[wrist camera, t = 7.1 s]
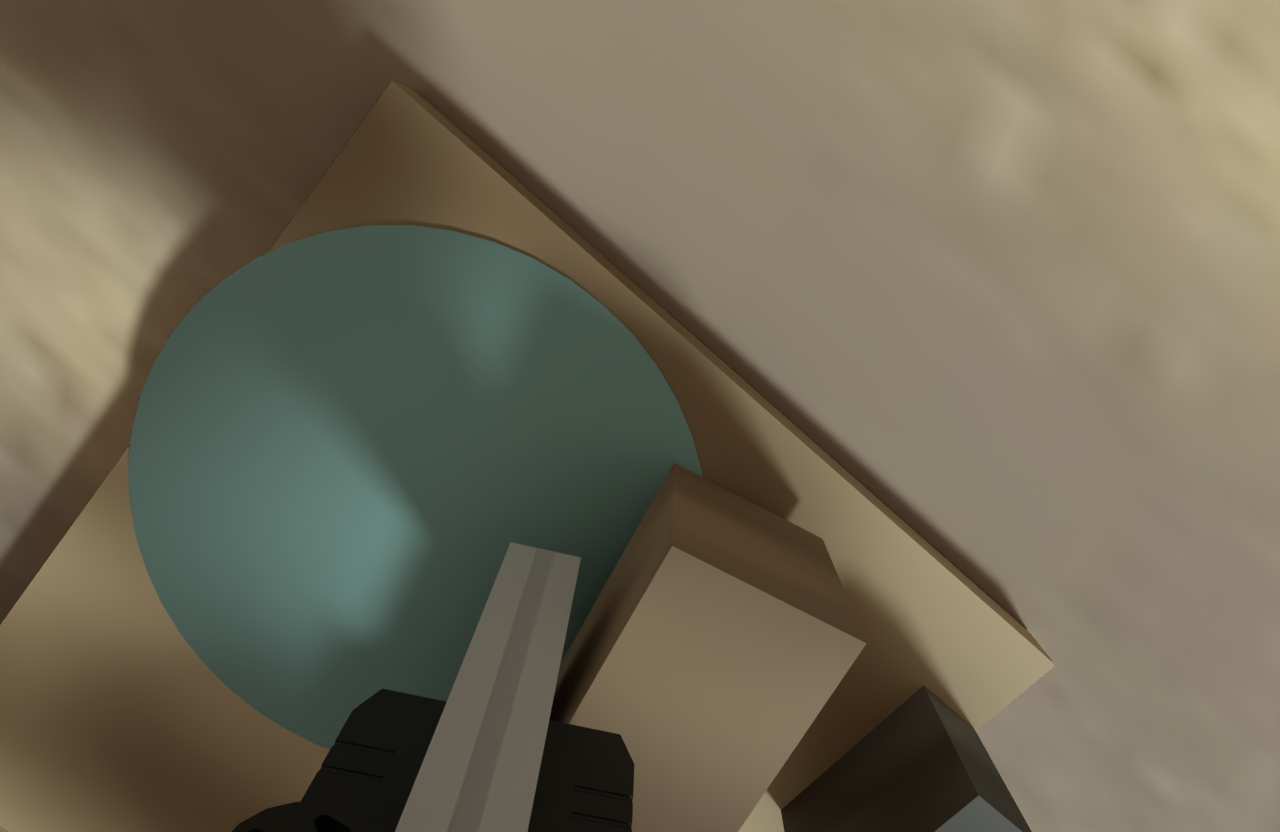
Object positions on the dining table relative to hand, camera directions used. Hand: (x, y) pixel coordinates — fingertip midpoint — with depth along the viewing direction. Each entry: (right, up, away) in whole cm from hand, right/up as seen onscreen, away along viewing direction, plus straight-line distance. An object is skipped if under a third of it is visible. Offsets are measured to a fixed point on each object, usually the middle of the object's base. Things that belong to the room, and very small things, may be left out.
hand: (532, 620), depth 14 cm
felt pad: (-2, +1, +2) cm, 3 cm away
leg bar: (+1, -2, +2) cm, 3 cm away
